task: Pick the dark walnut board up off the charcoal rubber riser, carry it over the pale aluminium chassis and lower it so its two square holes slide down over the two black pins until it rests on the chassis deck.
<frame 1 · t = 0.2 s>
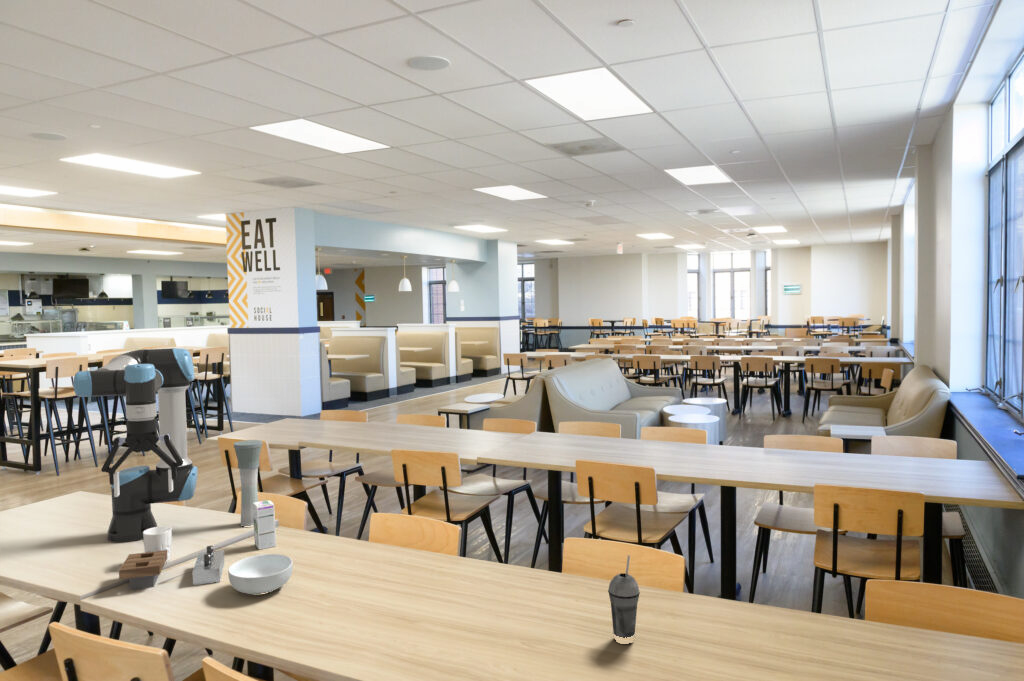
hand: (144, 493, 188), 26 cm above the table, tool pointing down, fingers open, 13 cm apart
beverage cup: (624, 640, 155), on the table
riser: (144, 582, 191), on the table
syrup box: (265, 546, 219), on the table
cereal bowl: (261, 590, 185), on the table
chassis: (209, 573, 196), on the table
board: (144, 568, 190), point 4 cm above the table, touching riser
container: (250, 524, 242), on the table
white cup: (158, 562, 206), on the table
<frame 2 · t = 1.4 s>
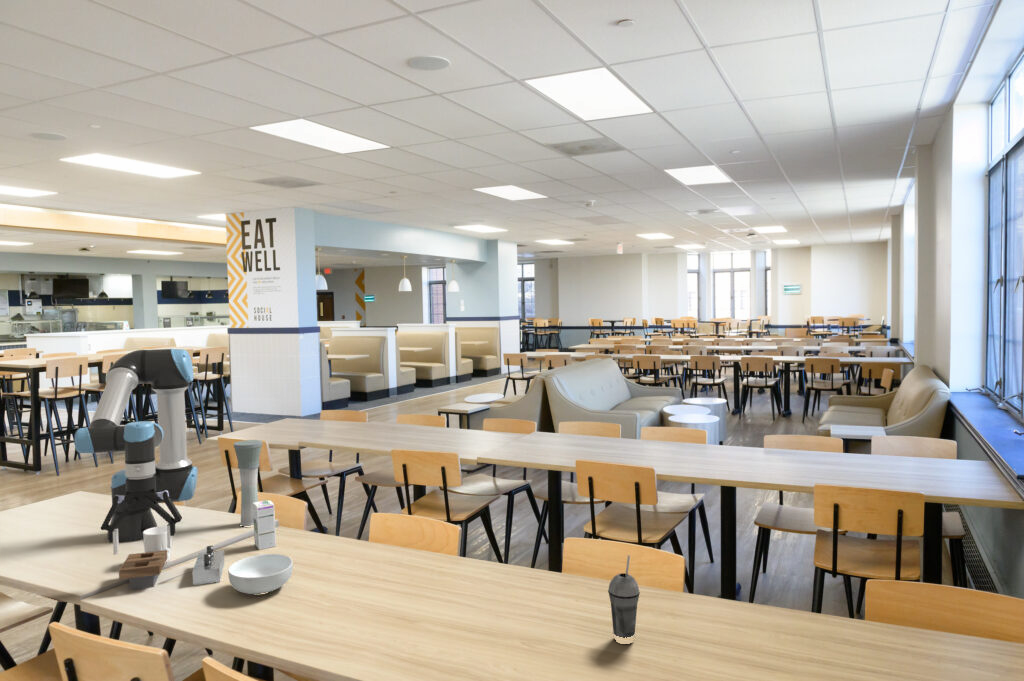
hand: (143, 550, 190), 10 cm above the table, tool pointing down, fingers open, 13 cm apart
nothing on the table moved.
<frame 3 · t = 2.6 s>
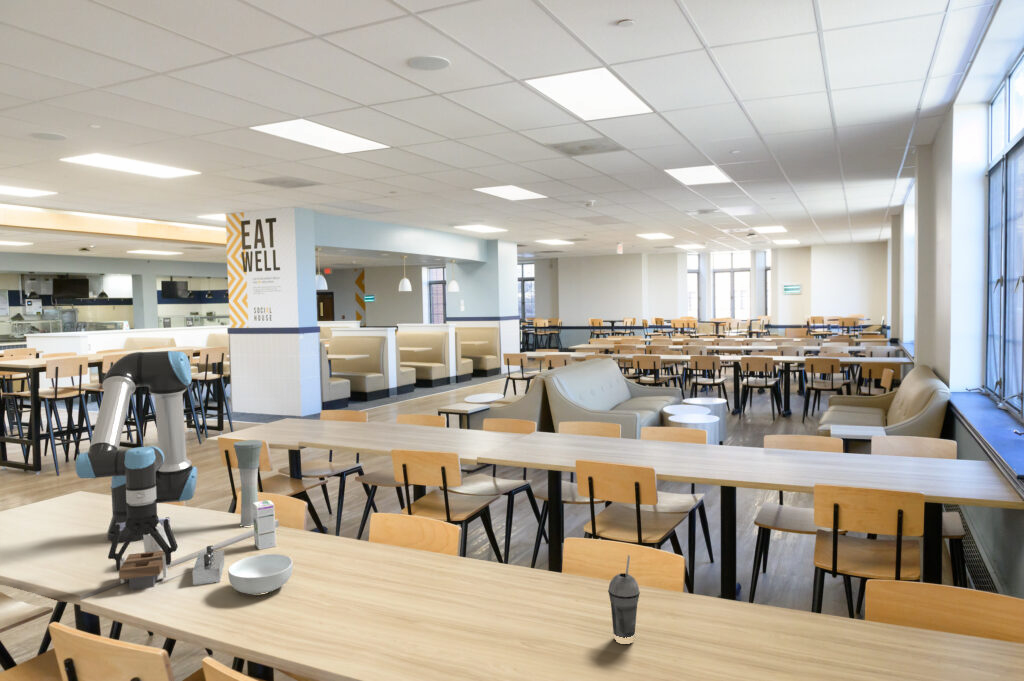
hand: (144, 578, 191), 1 cm above the table, tool pointing down, fingers closed on board, 10 cm apart
board: (144, 568, 190), point 4 cm above the table, touching gripper, riser
everything else where it was.
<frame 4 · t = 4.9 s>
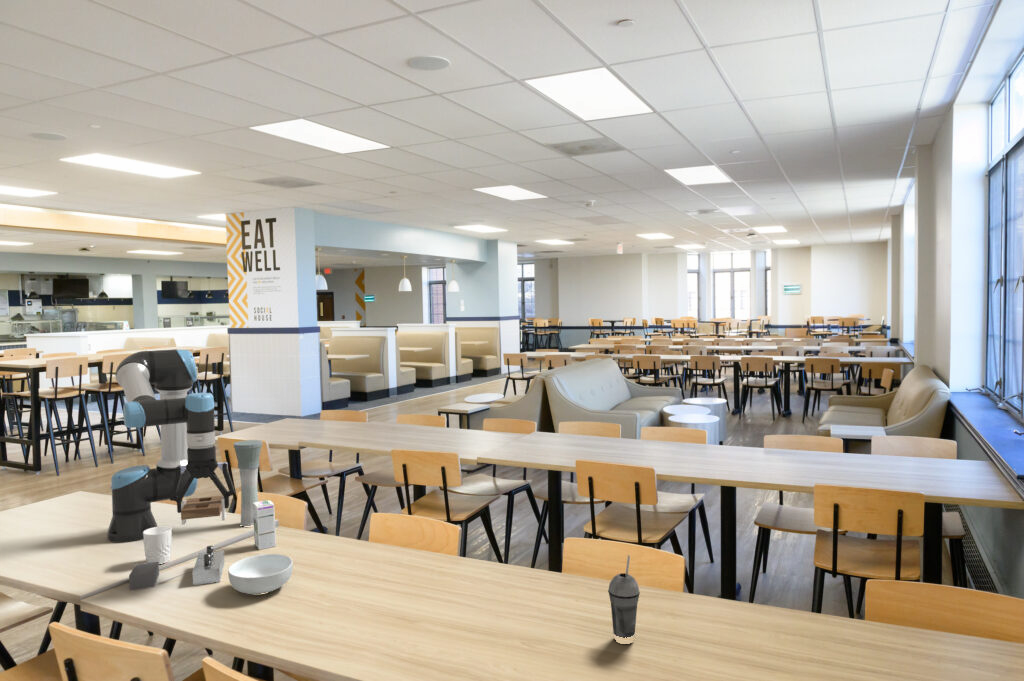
hand: (204, 521, 195), 16 cm above the table, tool pointing down, fingers closed on board, 10 cm apart
board: (203, 511, 195), point 19 cm above the table, touching gripper
everything else where it was.
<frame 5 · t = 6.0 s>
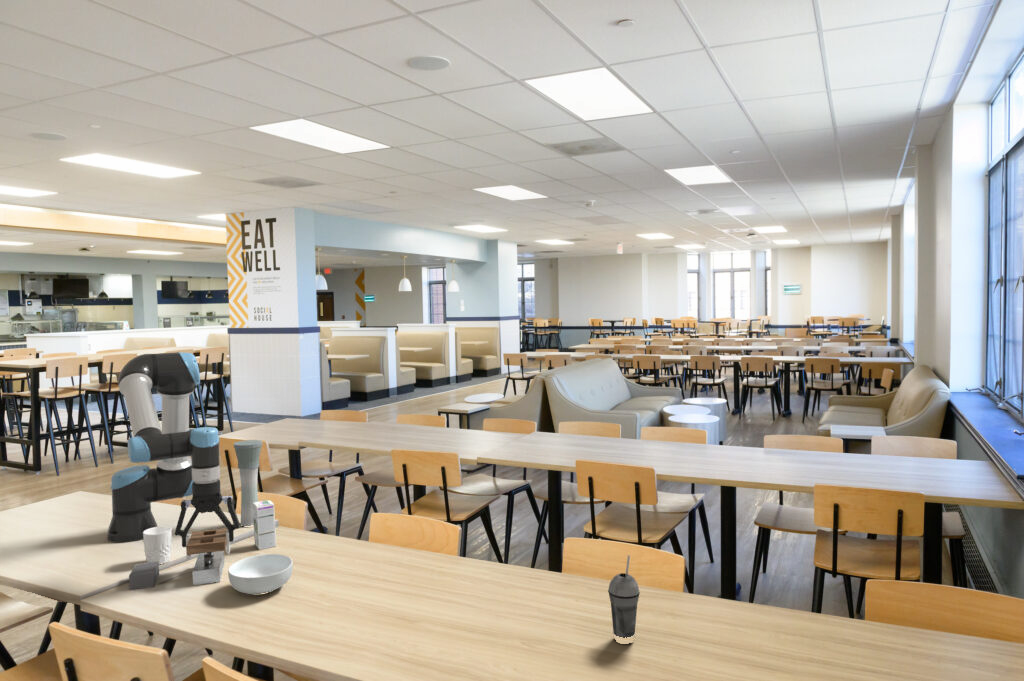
hand: (208, 554, 196), 6 cm above the table, tool pointing down, fingers closed on board, 10 cm apart
board: (208, 545, 196), point 9 cm above the table, touching gripper
everything else where it was.
when the fingers open (2 cm above the table, at t = 7.2 s): board drops 1 cm, resting on chassis.
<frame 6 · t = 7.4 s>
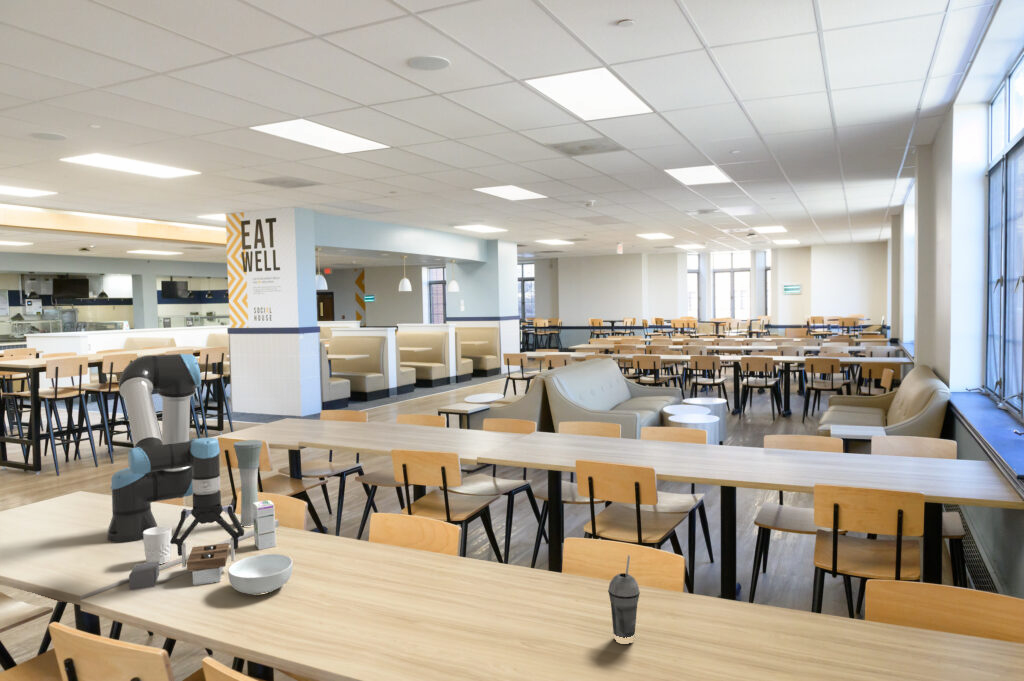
hand: (209, 562, 196), 3 cm above the table, tool pointing down, fingers open, 12 cm apart
board: (208, 560, 196), point 4 cm above the table, touching chassis
everything else where it was.
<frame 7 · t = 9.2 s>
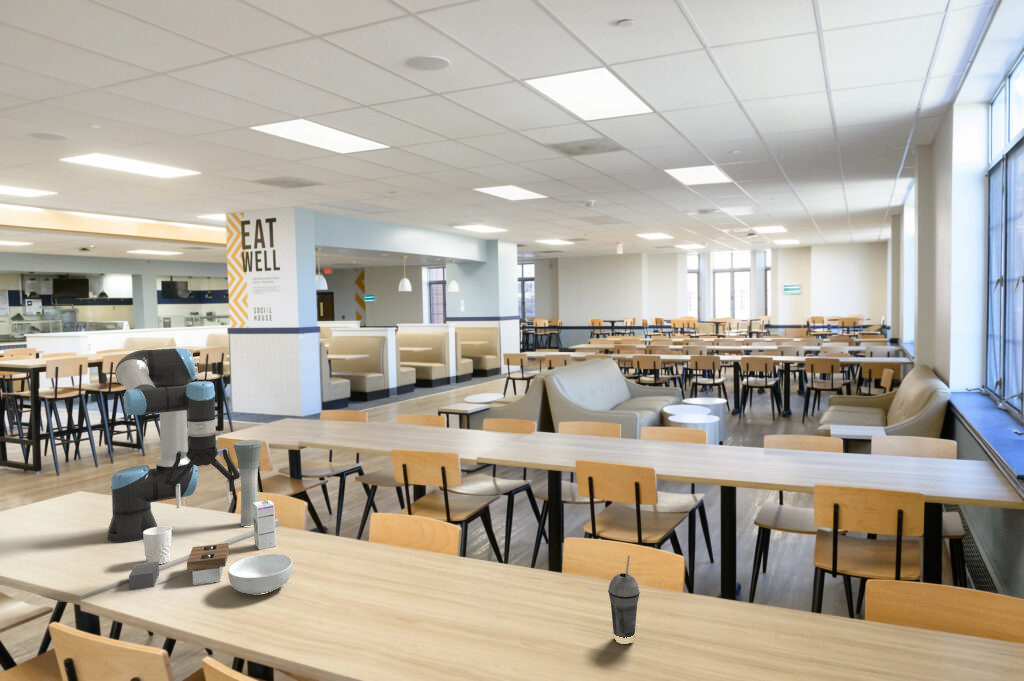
hand: (203, 504, 197), 20 cm above the table, tool pointing down, fingers open, 13 cm apart
nothing on the table moved.
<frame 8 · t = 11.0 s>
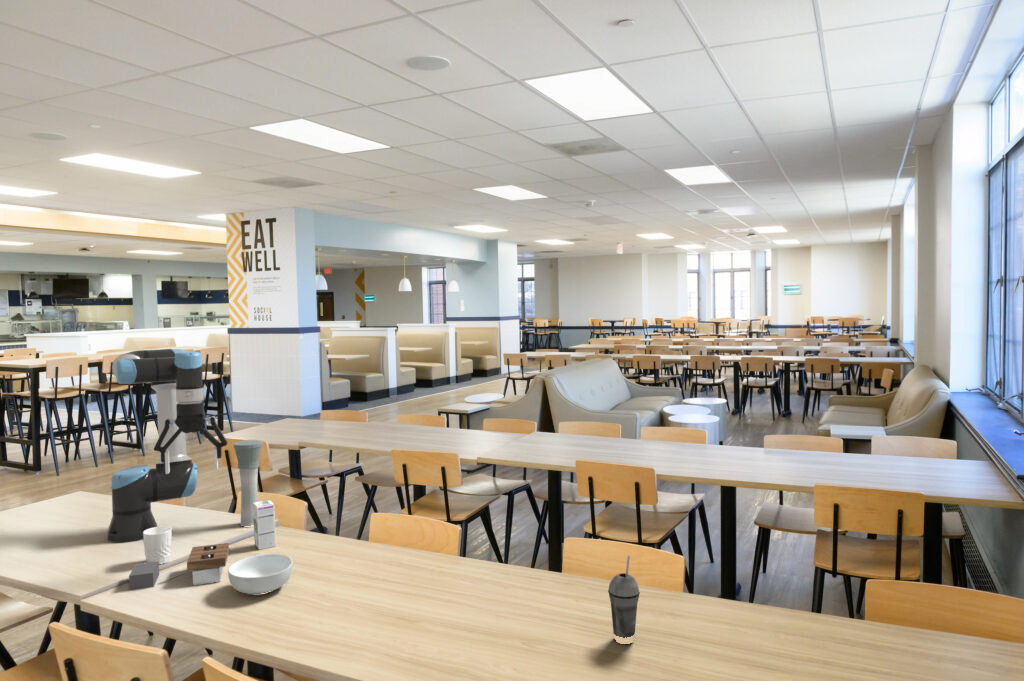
hand: (192, 471, 204), 29 cm above the table, tool pointing down, fingers open, 13 cm apart
nothing on the table moved.
at the end: board 0.0 cm off-centre on the chassis, point 4.0 cm above the chassis's base; board tilted 0°; the gripper is holding nothing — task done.
